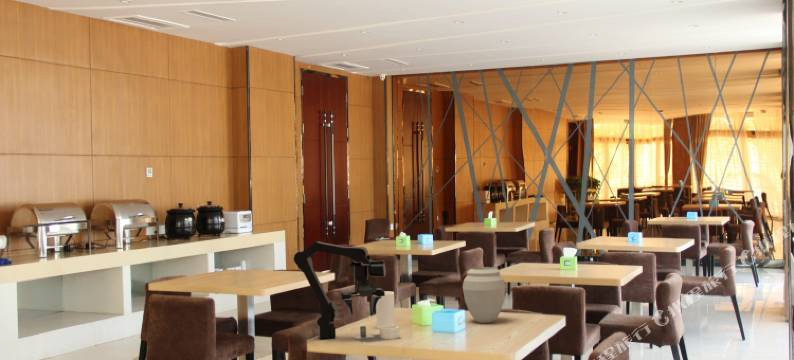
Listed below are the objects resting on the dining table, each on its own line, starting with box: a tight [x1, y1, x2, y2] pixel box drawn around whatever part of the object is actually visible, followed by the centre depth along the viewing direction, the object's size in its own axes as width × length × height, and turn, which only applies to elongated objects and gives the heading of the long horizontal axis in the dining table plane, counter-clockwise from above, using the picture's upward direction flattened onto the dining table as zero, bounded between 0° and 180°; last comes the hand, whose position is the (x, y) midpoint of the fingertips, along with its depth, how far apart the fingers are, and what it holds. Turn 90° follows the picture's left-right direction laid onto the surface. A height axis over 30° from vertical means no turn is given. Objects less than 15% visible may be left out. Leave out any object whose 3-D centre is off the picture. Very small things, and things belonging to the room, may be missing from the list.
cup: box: [375, 290, 396, 330], centre depth 361 cm, size 8×8×16 cm
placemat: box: [358, 333, 402, 343], centre depth 337 cm, size 17×14×1 cm
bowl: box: [379, 325, 400, 341], centre depth 336 cm, size 8×8×4 cm
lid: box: [351, 325, 375, 341], centre depth 339 cm, size 8×8×5 cm
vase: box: [462, 266, 507, 324], centre depth 368 cm, size 20×20×24 cm
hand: (362, 314), depth 339 cm, fingers open, 9 cm apart
